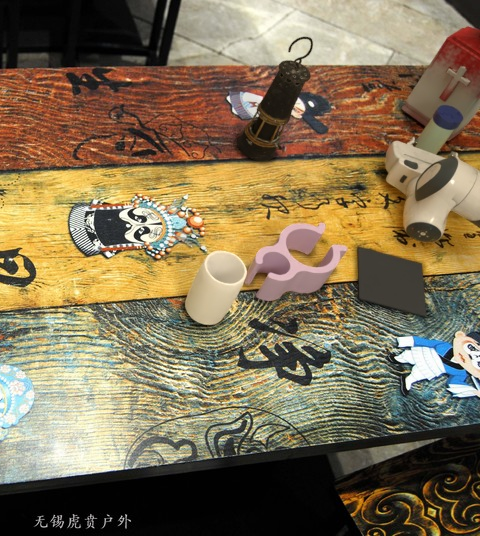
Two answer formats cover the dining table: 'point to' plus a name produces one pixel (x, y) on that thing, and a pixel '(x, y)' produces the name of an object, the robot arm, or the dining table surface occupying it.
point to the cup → (215, 287)
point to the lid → (447, 117)
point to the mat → (391, 281)
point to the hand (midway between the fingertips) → (433, 146)
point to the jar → (433, 137)
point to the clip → (293, 263)
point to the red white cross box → (450, 80)
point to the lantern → (275, 109)
